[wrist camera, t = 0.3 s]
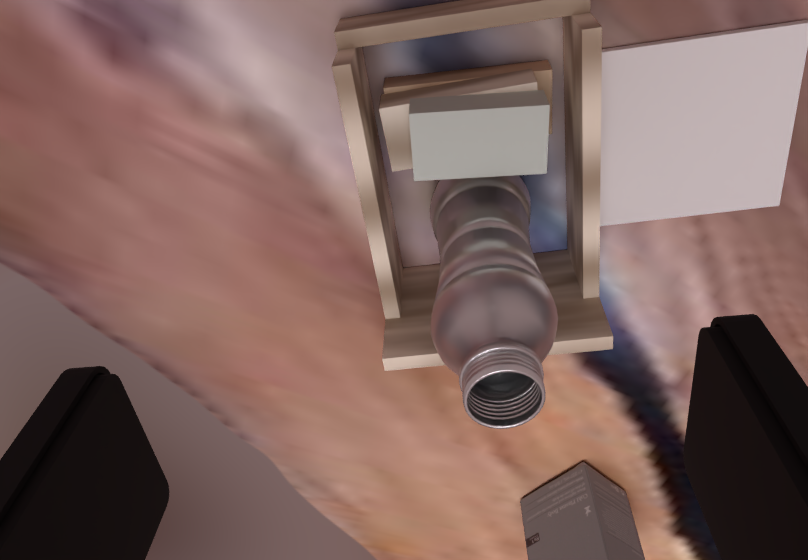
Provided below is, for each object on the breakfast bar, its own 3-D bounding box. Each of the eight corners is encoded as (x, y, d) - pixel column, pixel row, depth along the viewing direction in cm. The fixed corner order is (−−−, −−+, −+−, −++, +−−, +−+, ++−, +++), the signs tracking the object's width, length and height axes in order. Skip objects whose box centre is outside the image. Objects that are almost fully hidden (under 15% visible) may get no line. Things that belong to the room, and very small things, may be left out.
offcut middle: (381, 94, 41) (378, 108, 39) (531, 68, 40) (536, 81, 38) (393, 155, 43) (392, 171, 41) (536, 132, 42) (541, 148, 40)
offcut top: (409, 98, 38) (408, 113, 36) (543, 89, 38) (549, 104, 36) (414, 163, 41) (413, 181, 39) (541, 156, 40) (546, 173, 38)
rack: (339, 19, 40) (317, 71, 32) (579, -19, 38) (621, 26, 30) (391, 280, 51) (384, 370, 42) (581, 259, 49) (612, 349, 41)
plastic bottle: (546, 180, 46) (613, 386, 29) (483, 249, 49) (511, 469, 32) (470, 127, 44) (496, 316, 27) (410, 202, 47) (400, 412, 30)
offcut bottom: (385, 75, 42) (383, 88, 40) (546, 57, 42) (552, 69, 40) (393, 135, 45) (391, 150, 43) (546, 119, 44) (552, 133, 42)
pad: (597, 49, 41) (599, 52, 40) (807, 19, 39) (812, 22, 39) (595, 222, 47) (597, 226, 47) (775, 201, 46) (779, 205, 45)
